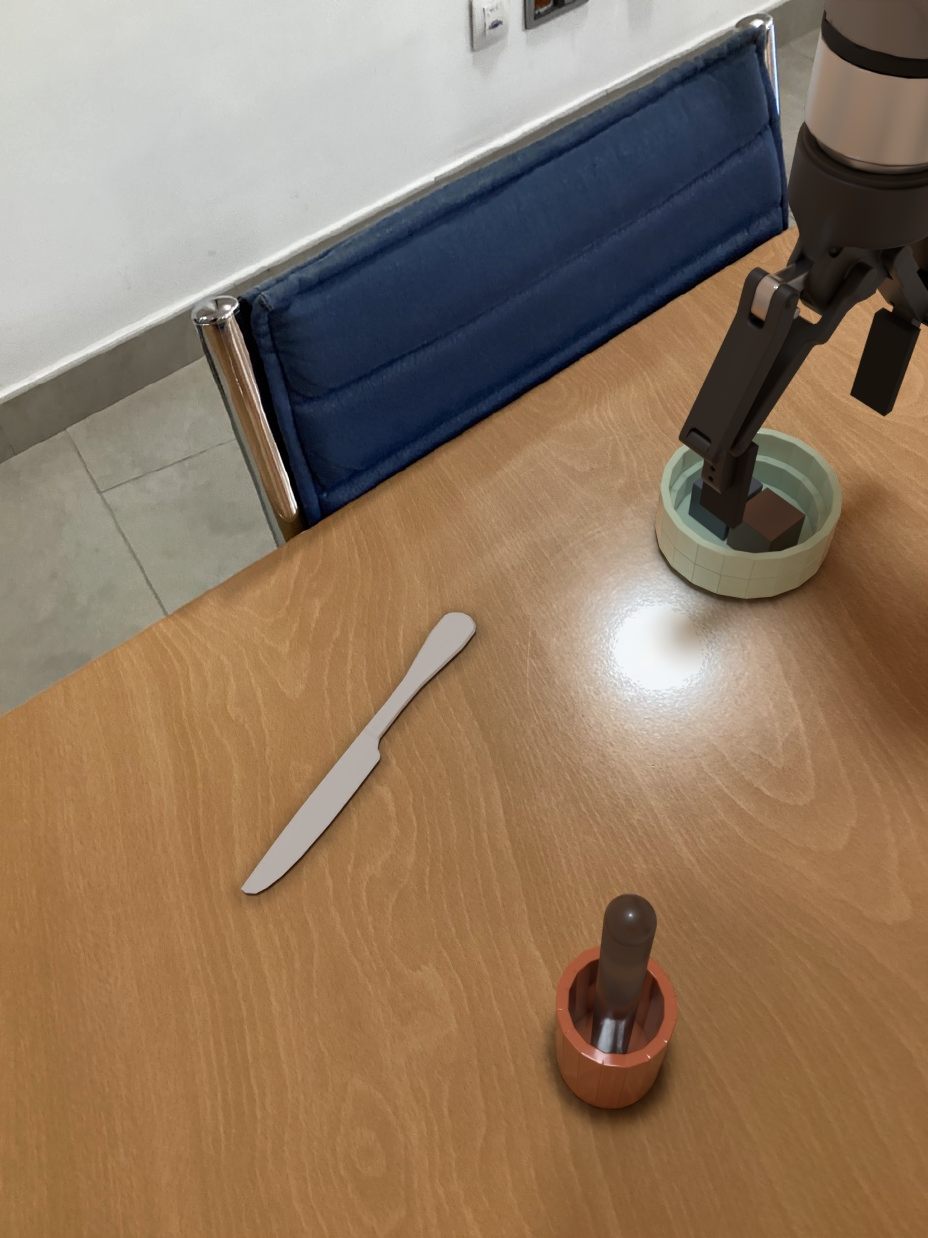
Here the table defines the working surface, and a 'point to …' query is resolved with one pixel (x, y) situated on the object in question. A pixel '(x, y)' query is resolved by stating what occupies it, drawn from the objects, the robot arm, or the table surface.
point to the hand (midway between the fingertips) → (797, 456)
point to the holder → (608, 1073)
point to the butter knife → (359, 755)
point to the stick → (621, 970)
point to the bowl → (710, 558)
